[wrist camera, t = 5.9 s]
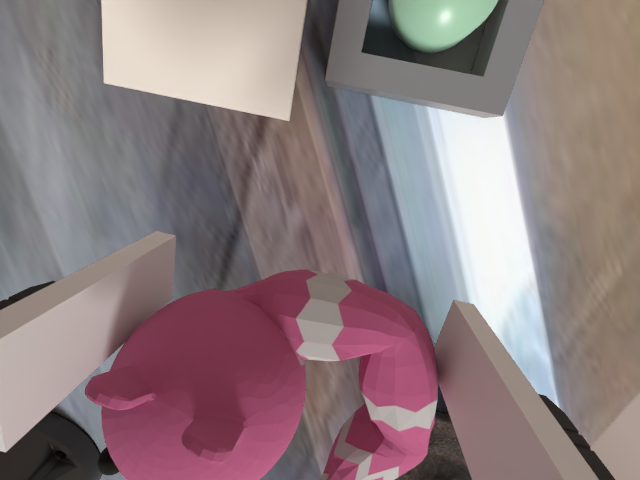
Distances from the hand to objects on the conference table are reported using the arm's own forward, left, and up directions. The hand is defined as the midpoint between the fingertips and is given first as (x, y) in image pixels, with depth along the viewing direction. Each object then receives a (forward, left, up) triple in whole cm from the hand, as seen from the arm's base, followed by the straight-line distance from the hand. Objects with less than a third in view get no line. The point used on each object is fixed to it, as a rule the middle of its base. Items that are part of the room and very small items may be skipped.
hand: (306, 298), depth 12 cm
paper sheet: (-12, +12, -16) cm, 23 cm away
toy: (0, -3, -1) cm, 3 cm away
